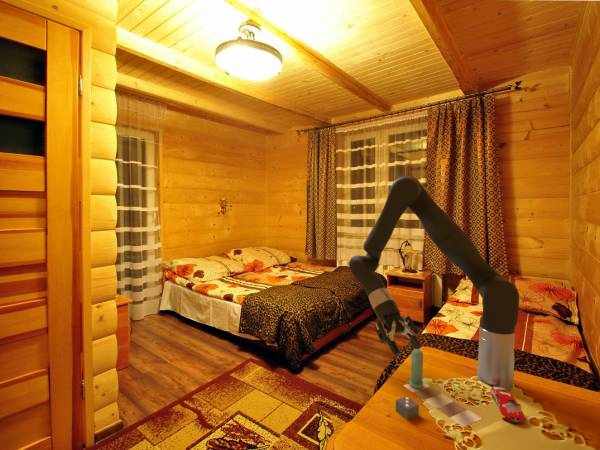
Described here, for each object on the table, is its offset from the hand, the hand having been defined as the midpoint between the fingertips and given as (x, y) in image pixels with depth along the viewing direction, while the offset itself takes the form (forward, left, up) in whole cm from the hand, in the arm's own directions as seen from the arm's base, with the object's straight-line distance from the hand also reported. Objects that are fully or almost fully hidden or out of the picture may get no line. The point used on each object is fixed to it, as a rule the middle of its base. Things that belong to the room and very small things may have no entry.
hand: (408, 351), depth 95 cm
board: (0, +12, -10) cm, 15 cm away
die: (+12, +12, -10) cm, 19 cm away
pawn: (0, +4, -9) cm, 10 cm away
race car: (-15, +21, -11) cm, 28 cm away
